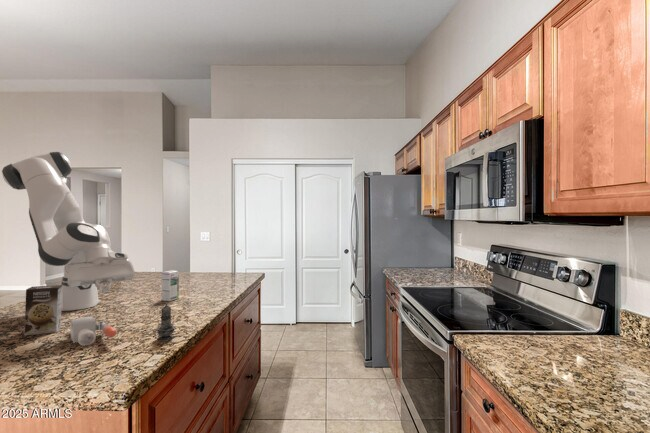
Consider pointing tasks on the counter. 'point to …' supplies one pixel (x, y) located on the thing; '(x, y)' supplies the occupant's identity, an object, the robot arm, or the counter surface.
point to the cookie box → (43, 309)
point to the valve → (84, 330)
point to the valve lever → (107, 329)
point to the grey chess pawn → (165, 325)
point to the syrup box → (170, 285)
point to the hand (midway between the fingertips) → (105, 291)
